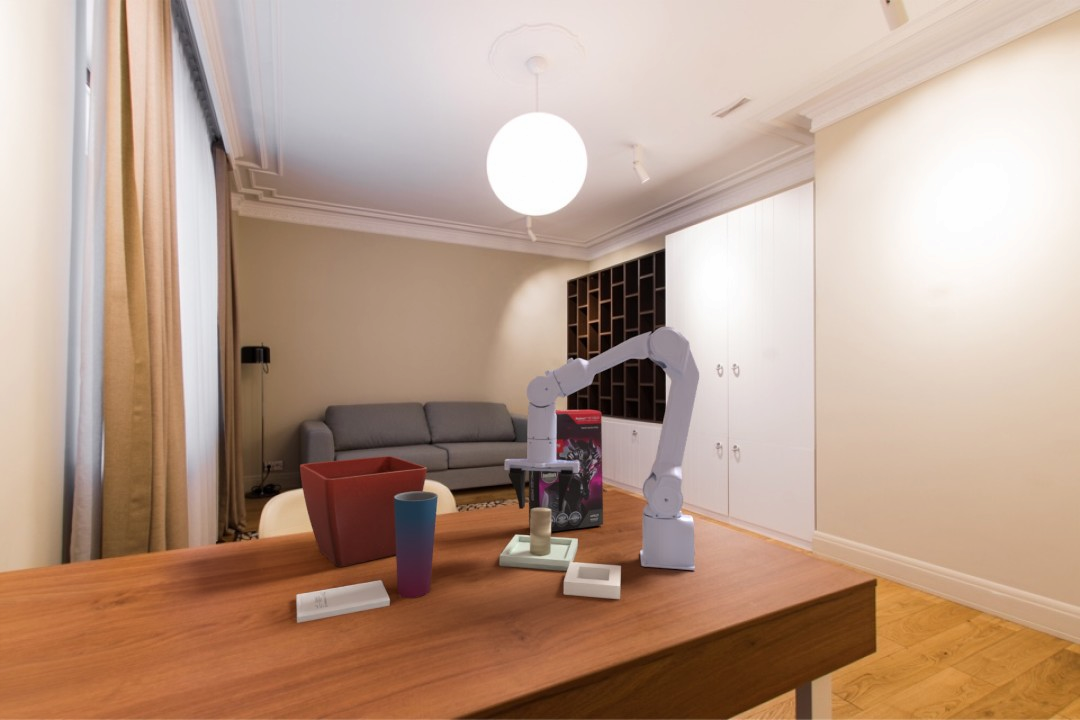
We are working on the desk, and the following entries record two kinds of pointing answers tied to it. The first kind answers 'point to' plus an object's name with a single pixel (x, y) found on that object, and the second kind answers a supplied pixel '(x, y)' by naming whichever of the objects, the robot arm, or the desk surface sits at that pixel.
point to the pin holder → (593, 580)
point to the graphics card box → (585, 490)
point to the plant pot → (357, 505)
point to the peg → (540, 531)
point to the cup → (414, 541)
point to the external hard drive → (341, 600)
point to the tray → (556, 560)
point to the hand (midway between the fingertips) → (541, 508)
